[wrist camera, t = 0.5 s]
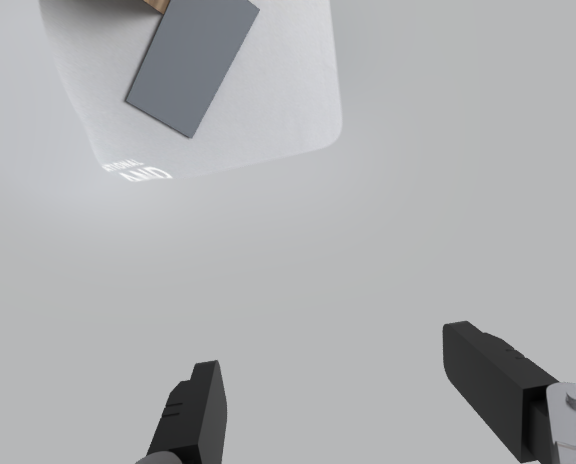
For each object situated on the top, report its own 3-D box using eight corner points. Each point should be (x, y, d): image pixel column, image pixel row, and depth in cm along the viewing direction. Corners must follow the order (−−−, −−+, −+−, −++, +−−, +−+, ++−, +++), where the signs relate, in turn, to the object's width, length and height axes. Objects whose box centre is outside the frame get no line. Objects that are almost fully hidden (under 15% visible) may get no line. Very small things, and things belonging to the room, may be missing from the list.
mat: (127, 100, 34) (126, 100, 33) (191, -44, 30) (190, -45, 29) (192, 137, 36) (191, 138, 36) (259, 10, 32) (260, 9, 32)
